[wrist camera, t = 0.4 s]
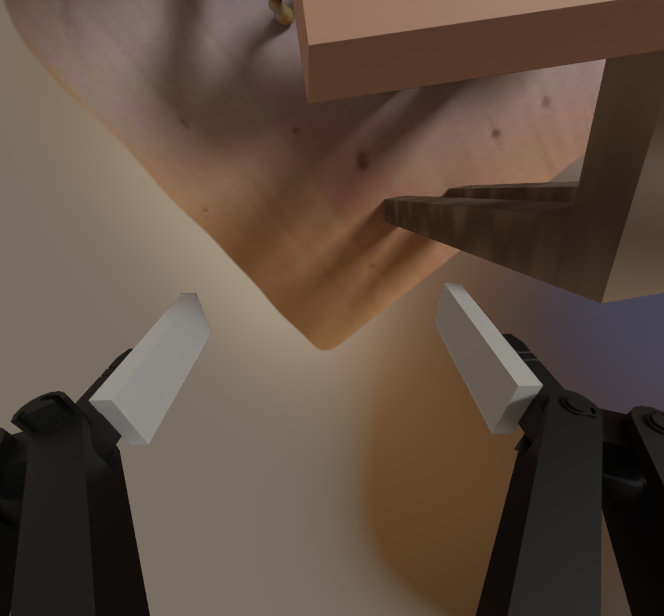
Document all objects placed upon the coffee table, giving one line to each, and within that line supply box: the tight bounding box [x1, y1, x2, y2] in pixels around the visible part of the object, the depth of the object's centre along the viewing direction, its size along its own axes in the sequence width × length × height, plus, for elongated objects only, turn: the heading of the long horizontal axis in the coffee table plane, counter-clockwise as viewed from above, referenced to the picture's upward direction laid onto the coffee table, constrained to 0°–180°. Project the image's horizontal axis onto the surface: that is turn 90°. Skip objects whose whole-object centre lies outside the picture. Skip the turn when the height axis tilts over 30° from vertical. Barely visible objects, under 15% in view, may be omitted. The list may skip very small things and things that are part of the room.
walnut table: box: [385, 50, 664, 303], centre depth 20 cm, size 18×12×30 cm, turn 8°
